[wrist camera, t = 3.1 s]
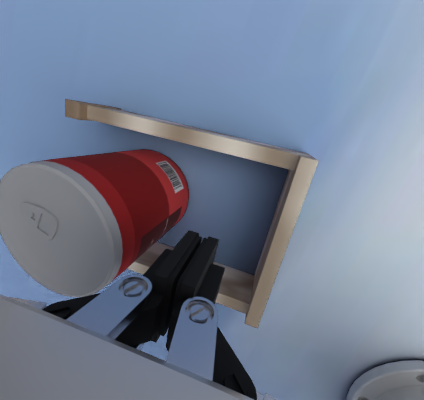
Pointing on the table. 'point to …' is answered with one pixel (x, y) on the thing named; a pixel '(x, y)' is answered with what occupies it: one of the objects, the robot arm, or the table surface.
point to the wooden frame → (285, 158)
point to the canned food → (88, 215)
